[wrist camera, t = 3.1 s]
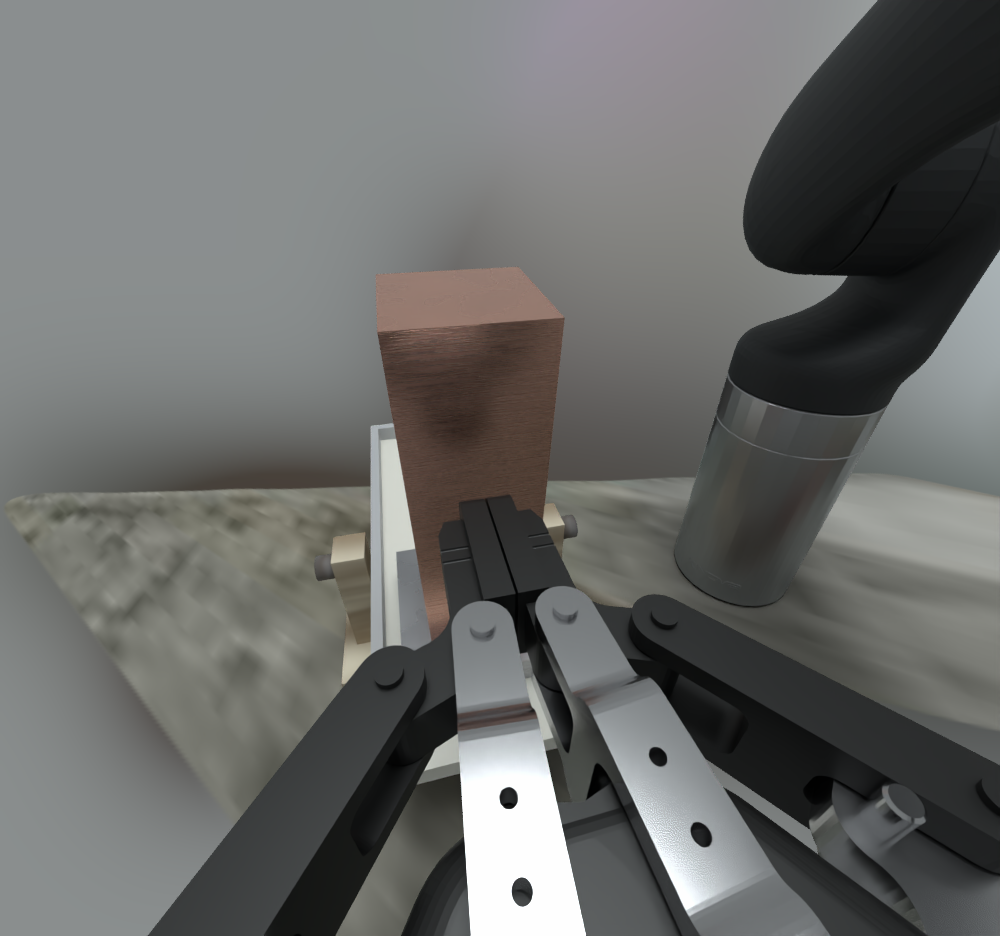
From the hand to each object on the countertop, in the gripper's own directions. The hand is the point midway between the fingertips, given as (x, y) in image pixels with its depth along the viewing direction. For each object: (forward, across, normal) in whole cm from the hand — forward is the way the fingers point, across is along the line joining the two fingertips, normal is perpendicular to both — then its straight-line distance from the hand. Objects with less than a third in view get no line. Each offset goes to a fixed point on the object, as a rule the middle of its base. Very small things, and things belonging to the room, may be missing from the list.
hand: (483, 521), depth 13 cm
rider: (+6, 0, +12) cm, 14 cm away
